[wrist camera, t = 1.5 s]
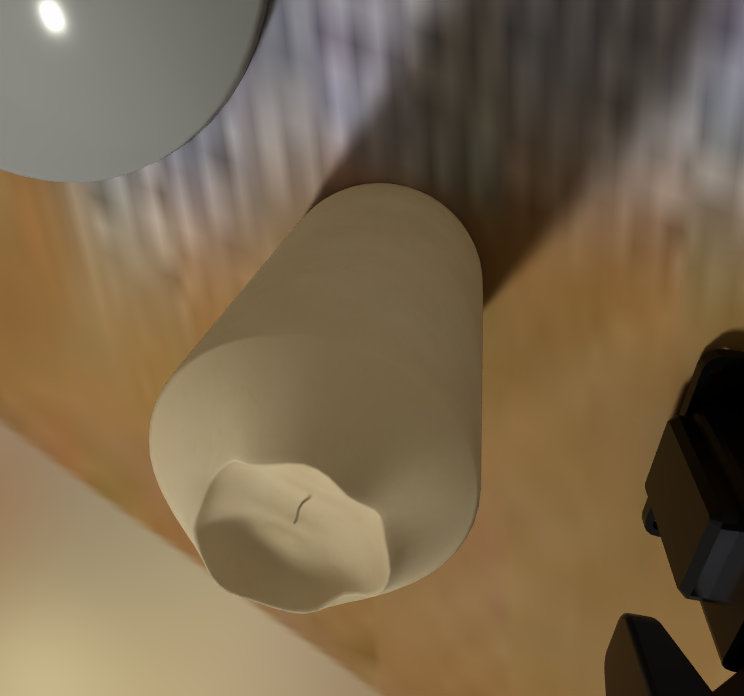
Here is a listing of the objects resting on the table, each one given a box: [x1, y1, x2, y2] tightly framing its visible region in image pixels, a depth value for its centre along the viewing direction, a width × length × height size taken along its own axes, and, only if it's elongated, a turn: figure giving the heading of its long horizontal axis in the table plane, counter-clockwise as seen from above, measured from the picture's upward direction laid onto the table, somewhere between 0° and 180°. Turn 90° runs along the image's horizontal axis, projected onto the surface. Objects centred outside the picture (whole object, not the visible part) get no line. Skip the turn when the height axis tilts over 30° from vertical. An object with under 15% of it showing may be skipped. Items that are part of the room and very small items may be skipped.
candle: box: [149, 183, 483, 613], centre depth 13 cm, size 6×6×10 cm
